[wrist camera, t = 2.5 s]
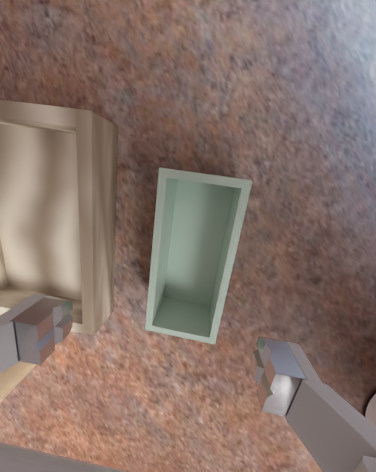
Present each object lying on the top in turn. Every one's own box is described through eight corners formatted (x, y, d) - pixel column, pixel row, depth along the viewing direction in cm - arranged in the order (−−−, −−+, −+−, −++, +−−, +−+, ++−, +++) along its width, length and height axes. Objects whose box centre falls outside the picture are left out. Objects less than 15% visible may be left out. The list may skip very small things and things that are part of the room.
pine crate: (117, 126, 17) (90, 110, 13) (113, 310, 23) (93, 336, 19) (-23, 108, 18) (-85, 89, 14) (7, 288, 24) (-31, 308, 20)
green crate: (241, 180, 17) (252, 180, 12) (214, 308, 21) (214, 344, 16) (173, 171, 18) (159, 167, 13) (159, 297, 22) (144, 329, 17)
